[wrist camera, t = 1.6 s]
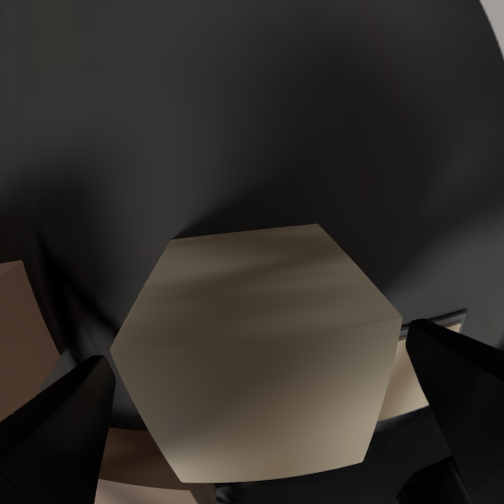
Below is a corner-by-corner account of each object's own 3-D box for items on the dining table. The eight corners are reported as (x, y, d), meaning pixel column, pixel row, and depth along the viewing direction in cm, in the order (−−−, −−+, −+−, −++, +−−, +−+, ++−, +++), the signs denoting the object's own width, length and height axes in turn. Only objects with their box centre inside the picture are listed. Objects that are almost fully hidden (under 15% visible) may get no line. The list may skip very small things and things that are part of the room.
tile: (464, 311, 12) (468, 314, 12) (432, 401, 14) (435, 405, 14) (343, 339, 12) (346, 345, 12) (331, 430, 14) (333, 435, 14)
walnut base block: (194, 429, 14) (189, 490, 10) (216, 485, 17) (215, 530, 13) (71, 417, 14) (50, 466, 10) (116, 477, 17) (107, 516, 13)
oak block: (317, 223, 10) (402, 317, 5) (317, 341, 12) (362, 461, 6) (171, 239, 10) (109, 350, 5) (197, 354, 12) (181, 482, 6)
